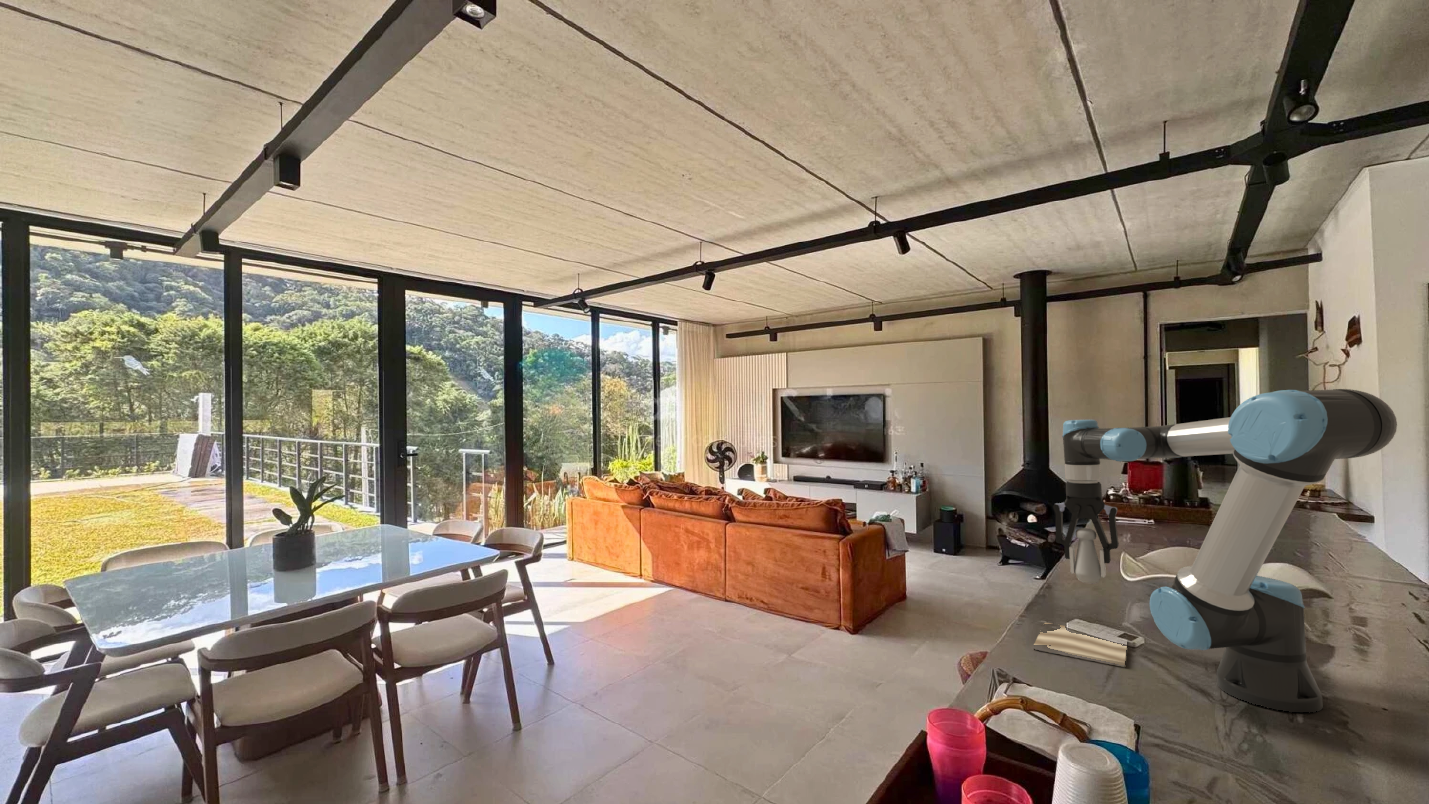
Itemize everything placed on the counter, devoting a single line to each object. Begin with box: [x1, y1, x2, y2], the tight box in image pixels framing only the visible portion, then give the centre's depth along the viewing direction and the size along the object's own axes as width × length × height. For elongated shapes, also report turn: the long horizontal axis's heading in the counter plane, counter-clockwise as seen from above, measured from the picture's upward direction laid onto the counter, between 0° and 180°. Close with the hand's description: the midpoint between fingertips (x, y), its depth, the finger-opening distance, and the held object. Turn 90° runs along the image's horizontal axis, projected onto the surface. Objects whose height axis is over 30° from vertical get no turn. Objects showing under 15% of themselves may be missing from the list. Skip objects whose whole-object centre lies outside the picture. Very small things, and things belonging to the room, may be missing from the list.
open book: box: [1033, 622, 1128, 666], centre depth 139 cm, size 18×18×1 cm
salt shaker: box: [1074, 527, 1102, 585], centre depth 142 cm, size 6×6×13 cm
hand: (1088, 573), depth 142 cm, fingers closed on salt shaker, 6 cm apart
